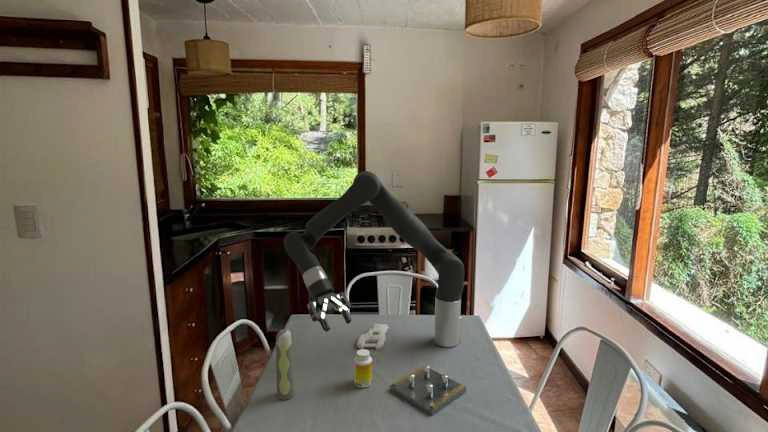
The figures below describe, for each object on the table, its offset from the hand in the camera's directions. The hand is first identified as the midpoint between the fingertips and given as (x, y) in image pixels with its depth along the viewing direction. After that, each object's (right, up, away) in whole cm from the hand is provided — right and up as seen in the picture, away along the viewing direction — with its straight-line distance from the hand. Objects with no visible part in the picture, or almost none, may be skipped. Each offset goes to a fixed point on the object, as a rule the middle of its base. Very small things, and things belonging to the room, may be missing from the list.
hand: (339, 326), depth 131 cm
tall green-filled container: (-14, -17, -12) cm, 25 cm away
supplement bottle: (+8, -16, -6) cm, 19 cm away
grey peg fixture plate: (+27, -17, -9) cm, 33 cm away
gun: (+10, -12, +23) cm, 28 cm away
